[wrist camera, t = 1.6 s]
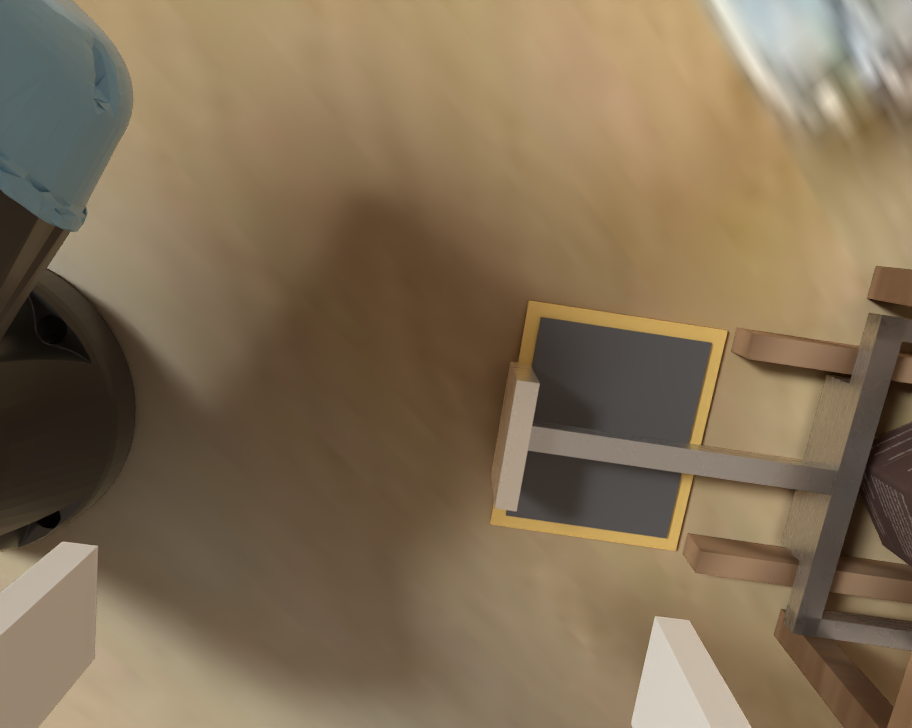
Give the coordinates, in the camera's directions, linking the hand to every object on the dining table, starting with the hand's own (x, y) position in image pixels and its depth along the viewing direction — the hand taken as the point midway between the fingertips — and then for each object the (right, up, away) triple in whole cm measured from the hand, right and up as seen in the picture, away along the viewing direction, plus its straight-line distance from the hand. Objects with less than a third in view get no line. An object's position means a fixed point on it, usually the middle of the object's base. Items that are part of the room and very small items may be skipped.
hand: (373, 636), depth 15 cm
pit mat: (+10, +3, +20) cm, 22 cm away
